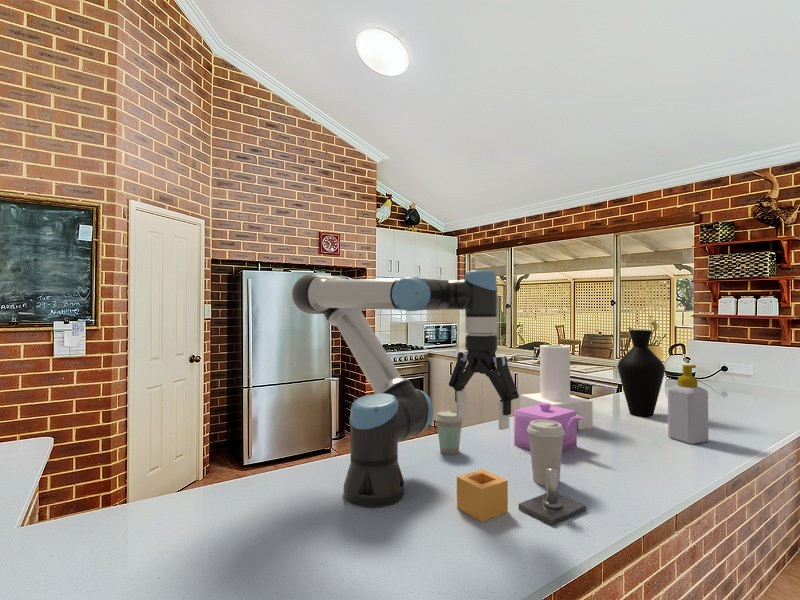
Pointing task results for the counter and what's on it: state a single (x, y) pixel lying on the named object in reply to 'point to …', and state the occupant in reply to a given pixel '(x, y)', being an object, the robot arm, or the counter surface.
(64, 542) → the counter surface
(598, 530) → the counter surface
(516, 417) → the teapot
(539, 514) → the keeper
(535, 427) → the coffee cup
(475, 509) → the hollow block
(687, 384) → the soap bottle
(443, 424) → the coffee cup
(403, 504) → the counter surface
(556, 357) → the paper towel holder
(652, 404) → the vase
